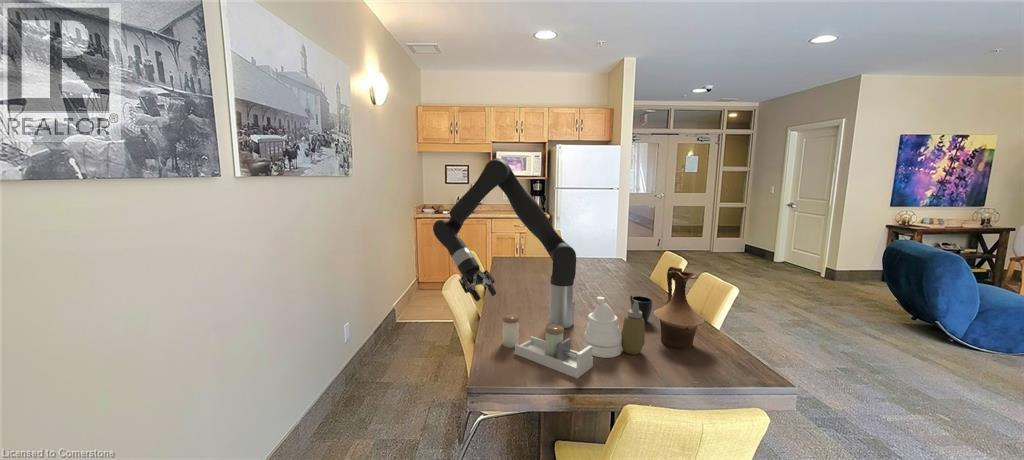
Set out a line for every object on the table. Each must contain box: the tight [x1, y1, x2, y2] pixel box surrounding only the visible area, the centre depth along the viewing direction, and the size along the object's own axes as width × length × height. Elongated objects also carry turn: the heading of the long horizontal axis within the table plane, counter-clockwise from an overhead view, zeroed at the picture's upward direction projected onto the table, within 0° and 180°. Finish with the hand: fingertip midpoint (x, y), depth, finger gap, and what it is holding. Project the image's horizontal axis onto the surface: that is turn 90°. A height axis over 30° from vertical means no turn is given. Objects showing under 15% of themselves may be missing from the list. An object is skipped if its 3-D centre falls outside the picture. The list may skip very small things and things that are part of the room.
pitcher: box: [653, 265, 706, 350], centre depth 138 cm, size 18×17×28 cm
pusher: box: [556, 337, 576, 361], centre depth 120 cm, size 5×7×6 cm
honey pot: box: [583, 296, 623, 359], centre depth 132 cm, size 13×13×18 cm
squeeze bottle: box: [620, 301, 646, 355], centre depth 131 cm, size 8×8×18 cm
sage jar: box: [545, 324, 565, 358], centre depth 124 cm, size 6×6×10 cm
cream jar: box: [502, 313, 520, 349], centre depth 135 cm, size 6×6×10 cm
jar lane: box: [514, 335, 594, 379], centre depth 124 cm, size 24×10×7 cm, turn 50°
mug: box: [629, 294, 653, 324], centre depth 161 cm, size 8×12×10 cm
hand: (487, 297), depth 141 cm, fingers open, 8 cm apart
